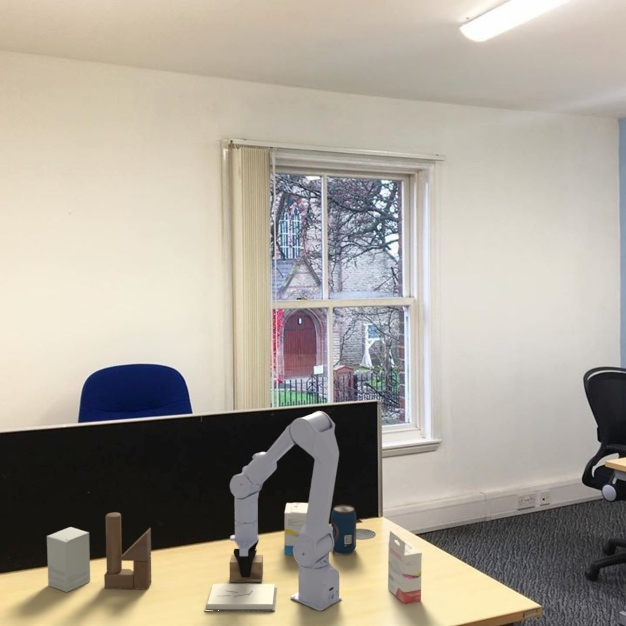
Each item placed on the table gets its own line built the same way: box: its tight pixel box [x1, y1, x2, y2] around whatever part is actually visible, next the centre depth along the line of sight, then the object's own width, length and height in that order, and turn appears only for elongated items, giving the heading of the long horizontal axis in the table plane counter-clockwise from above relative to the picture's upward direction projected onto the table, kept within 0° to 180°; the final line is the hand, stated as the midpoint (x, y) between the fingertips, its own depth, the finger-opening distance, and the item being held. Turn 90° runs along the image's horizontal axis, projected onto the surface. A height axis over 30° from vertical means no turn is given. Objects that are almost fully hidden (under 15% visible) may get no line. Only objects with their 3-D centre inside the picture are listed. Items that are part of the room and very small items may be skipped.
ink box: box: [283, 502, 308, 555], centre depth 193 cm, size 9×8×12 cm
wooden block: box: [103, 511, 152, 590], centre depth 170 cm, size 4×11×18 cm, turn 88°
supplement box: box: [46, 526, 91, 593], centre depth 171 cm, size 7×7×13 cm
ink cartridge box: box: [387, 530, 423, 604], centre depth 166 cm, size 9×5×15 cm, turn 21°
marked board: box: [204, 583, 278, 613], centre depth 163 cm, size 16×11×2 cm
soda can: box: [330, 504, 357, 556], centre depth 191 cm, size 7×7×12 cm
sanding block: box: [229, 554, 264, 583], centre depth 174 cm, size 8×4×5 cm, turn 90°
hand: (246, 572), depth 174 cm, fingers closed on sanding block, 4 cm apart
